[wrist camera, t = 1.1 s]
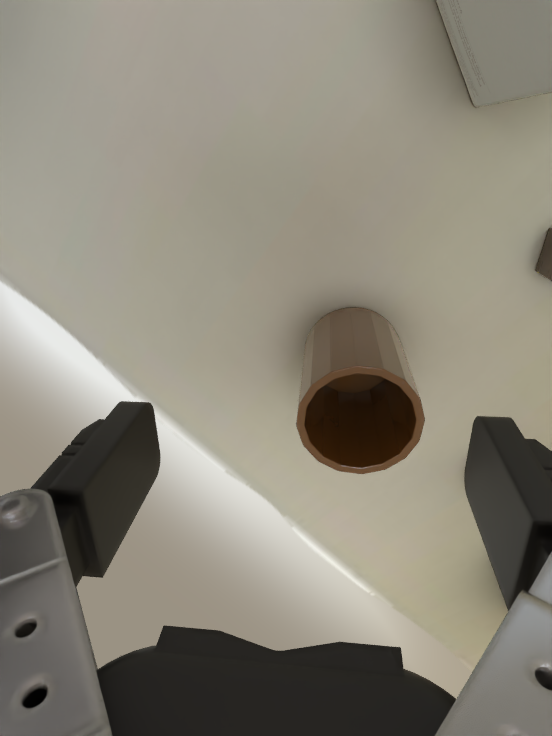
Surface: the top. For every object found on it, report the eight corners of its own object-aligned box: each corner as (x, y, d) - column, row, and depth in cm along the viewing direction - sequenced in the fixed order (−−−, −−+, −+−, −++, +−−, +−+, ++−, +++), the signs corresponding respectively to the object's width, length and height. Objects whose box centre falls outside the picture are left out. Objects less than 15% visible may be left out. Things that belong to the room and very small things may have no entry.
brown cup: (299, 387, 32) (291, 465, 25) (310, 302, 30) (304, 359, 22) (390, 398, 32) (409, 480, 24) (408, 312, 29) (436, 375, 22)
